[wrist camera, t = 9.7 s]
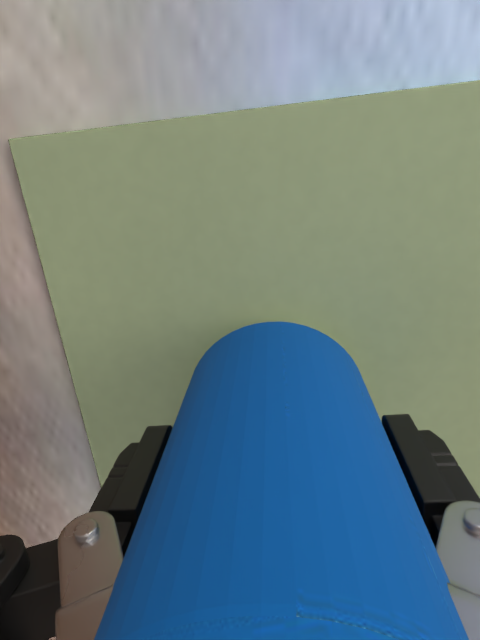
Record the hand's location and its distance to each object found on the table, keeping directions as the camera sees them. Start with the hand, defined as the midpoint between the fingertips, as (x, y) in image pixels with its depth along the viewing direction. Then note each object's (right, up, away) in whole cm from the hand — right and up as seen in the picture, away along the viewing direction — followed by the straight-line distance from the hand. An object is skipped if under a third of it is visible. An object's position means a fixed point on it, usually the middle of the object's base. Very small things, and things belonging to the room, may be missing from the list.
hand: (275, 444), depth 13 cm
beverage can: (0, +1, +3) cm, 3 cm away
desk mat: (0, +1, +3) cm, 4 cm away
